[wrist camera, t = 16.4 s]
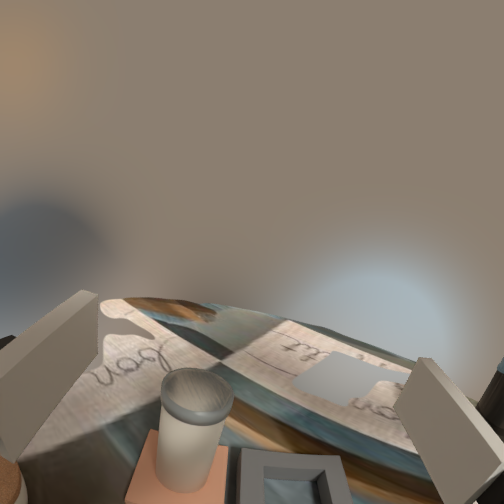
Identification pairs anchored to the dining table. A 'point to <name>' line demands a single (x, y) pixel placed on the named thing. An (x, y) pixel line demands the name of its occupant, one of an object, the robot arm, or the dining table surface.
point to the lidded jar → (12, 483)
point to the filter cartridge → (190, 427)
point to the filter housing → (289, 475)
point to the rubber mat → (164, 500)
